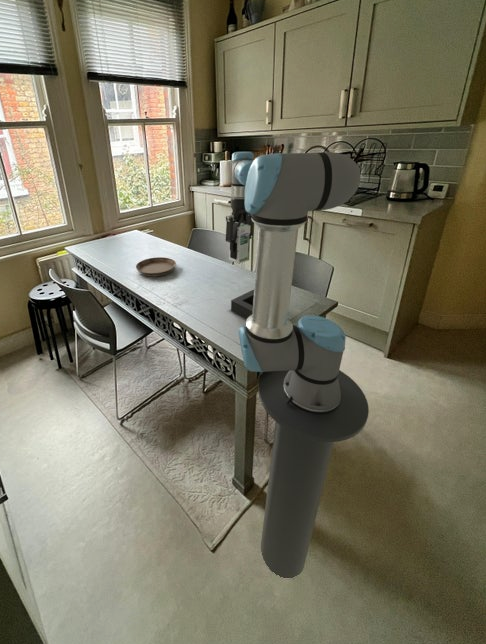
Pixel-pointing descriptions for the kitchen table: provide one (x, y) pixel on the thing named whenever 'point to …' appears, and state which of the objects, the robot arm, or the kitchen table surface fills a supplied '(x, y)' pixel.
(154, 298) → the kitchen table surface
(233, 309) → the dock
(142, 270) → the plant saucer
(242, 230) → the syrup box
